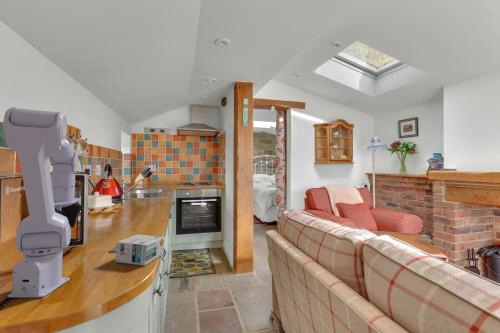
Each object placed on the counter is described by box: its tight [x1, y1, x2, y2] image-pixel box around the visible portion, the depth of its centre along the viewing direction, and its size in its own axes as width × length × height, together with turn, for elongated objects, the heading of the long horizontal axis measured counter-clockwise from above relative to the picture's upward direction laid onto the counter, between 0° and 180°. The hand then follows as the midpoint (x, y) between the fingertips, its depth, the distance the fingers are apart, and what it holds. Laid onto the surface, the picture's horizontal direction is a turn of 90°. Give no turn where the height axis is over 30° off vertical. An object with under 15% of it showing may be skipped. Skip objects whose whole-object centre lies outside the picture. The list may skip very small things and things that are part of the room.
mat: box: [108, 245, 117, 253], centre depth 95 cm, size 12×9×1 cm
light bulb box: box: [115, 233, 165, 267], centre depth 83 cm, size 11×7×11 cm
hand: (62, 230), depth 77 cm, fingers open, 7 cm apart
